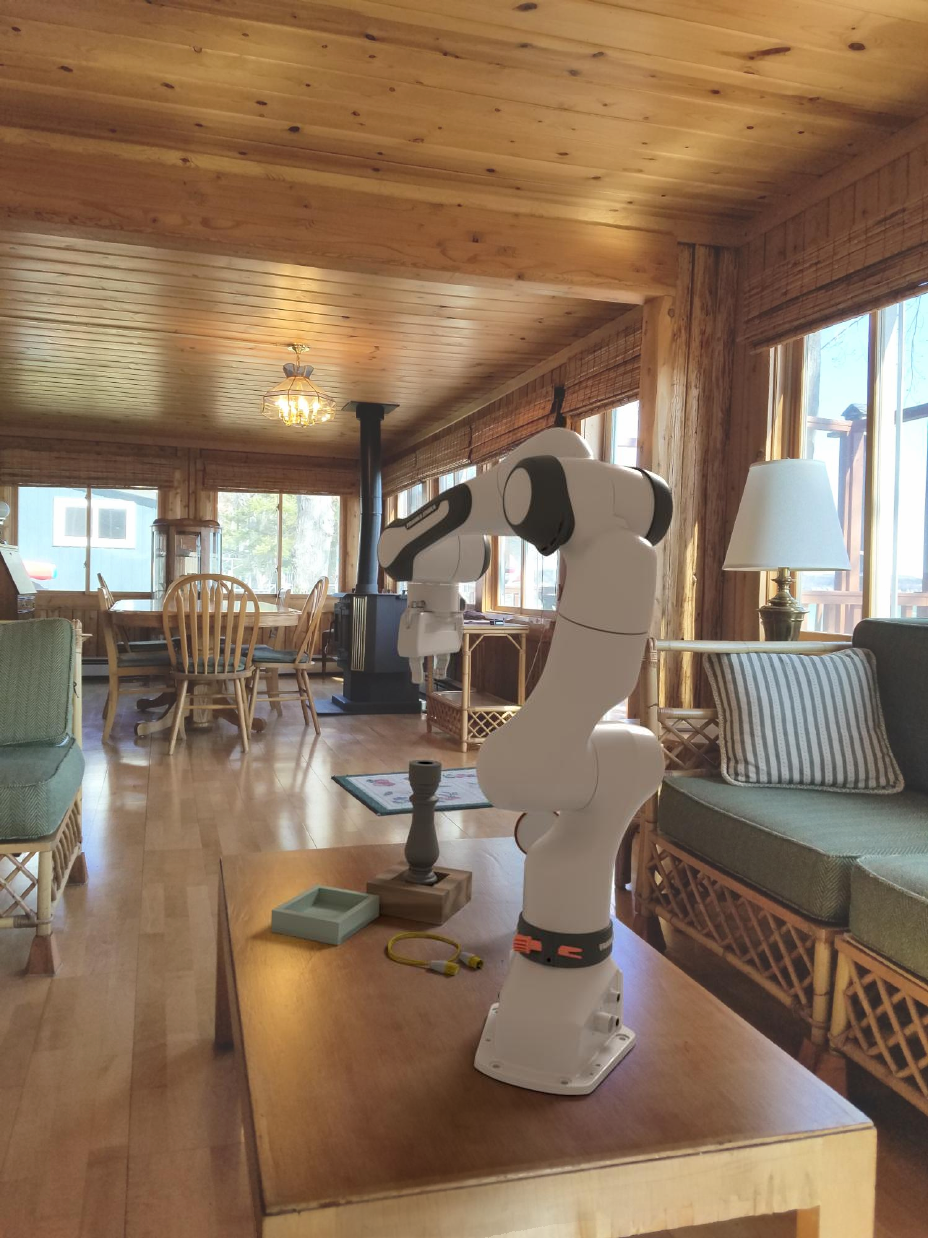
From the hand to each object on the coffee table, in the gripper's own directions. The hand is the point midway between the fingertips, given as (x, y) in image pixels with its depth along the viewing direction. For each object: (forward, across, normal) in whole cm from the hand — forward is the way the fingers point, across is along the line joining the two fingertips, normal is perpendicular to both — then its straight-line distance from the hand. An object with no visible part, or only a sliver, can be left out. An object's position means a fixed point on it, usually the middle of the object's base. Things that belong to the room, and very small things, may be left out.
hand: (429, 681), depth 155 cm
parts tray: (+39, -15, +10) cm, 43 cm away
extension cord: (+40, -19, -10) cm, 45 cm away
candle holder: (+40, 0, 0) cm, 40 cm away
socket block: (+39, 0, 0) cm, 39 cm away
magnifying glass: (+39, 0, -21) cm, 45 cm away
